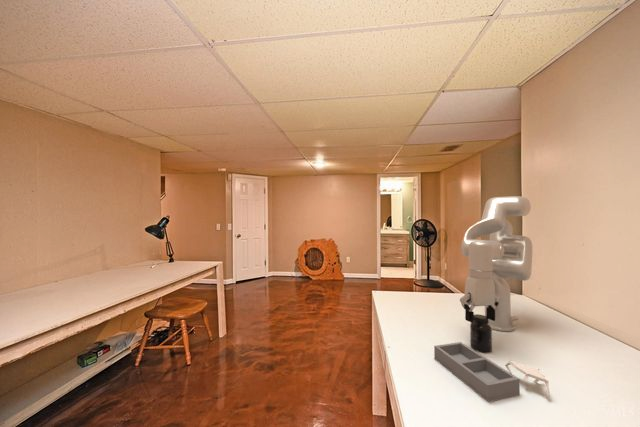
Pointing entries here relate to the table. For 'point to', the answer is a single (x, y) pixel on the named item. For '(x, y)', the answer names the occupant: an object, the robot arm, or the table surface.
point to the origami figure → (529, 374)
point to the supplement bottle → (481, 334)
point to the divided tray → (477, 371)
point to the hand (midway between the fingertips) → (480, 320)
